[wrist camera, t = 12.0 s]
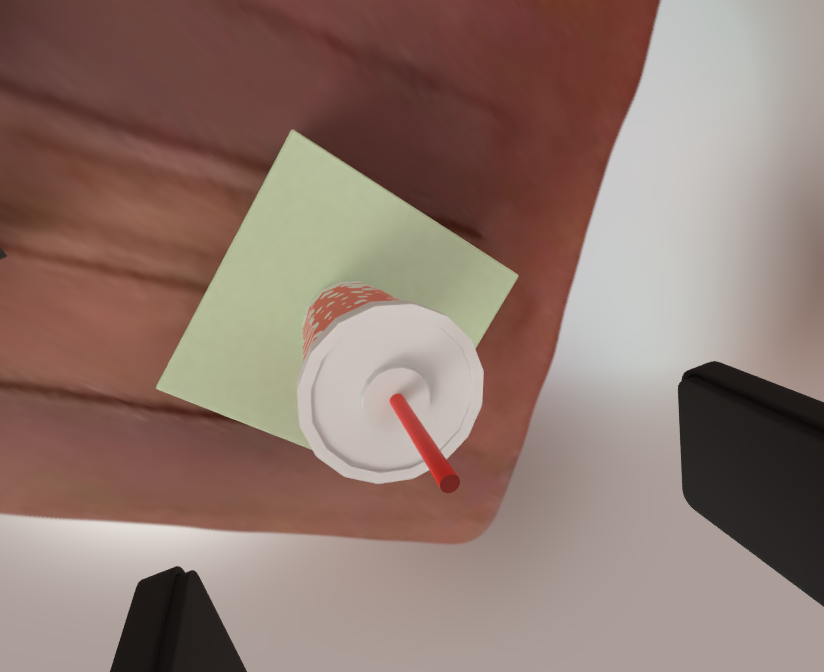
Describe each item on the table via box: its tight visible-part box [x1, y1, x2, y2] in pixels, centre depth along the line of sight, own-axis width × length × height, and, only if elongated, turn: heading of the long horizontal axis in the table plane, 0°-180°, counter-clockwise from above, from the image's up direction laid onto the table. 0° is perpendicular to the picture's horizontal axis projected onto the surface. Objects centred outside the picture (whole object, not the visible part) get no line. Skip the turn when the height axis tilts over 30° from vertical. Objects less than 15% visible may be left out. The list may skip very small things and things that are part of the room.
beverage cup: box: [297, 281, 484, 493], centre depth 18 cm, size 6×6×14 cm
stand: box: [156, 130, 519, 482], centre depth 27 cm, size 13×13×7 cm
